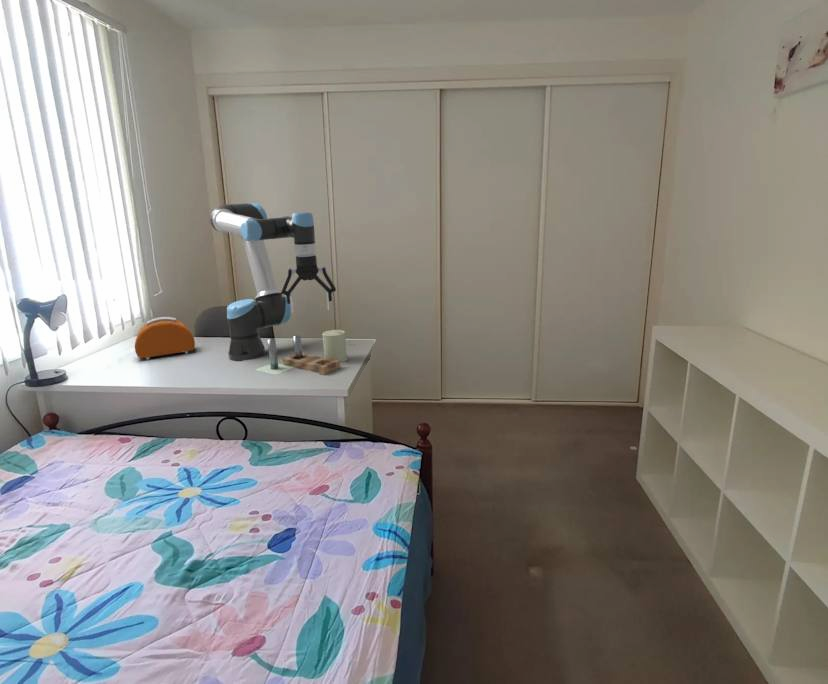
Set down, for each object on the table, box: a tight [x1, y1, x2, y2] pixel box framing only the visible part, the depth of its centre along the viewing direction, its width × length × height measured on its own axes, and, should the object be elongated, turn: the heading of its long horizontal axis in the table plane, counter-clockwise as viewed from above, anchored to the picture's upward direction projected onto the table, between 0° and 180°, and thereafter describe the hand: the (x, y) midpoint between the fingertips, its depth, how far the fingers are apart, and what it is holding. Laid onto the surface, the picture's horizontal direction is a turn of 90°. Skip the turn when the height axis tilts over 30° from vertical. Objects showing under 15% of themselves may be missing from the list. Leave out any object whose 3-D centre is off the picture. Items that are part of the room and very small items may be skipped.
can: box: [321, 329, 348, 363], centre depth 210 cm, size 9×9×12 cm
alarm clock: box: [134, 316, 196, 361], centre depth 226 cm, size 23×9×17 cm, turn 115°
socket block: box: [282, 353, 341, 376], centre depth 204 cm, size 22×9×3 cm, turn 56°
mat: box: [254, 362, 295, 376], centre depth 203 cm, size 12×10×1 cm
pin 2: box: [292, 334, 304, 360], centre depth 206 cm, size 3×3×12 cm
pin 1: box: [266, 337, 279, 370], centre depth 202 cm, size 3×3×12 cm
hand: (310, 310), depth 199 cm, fingers open, 13 cm apart
